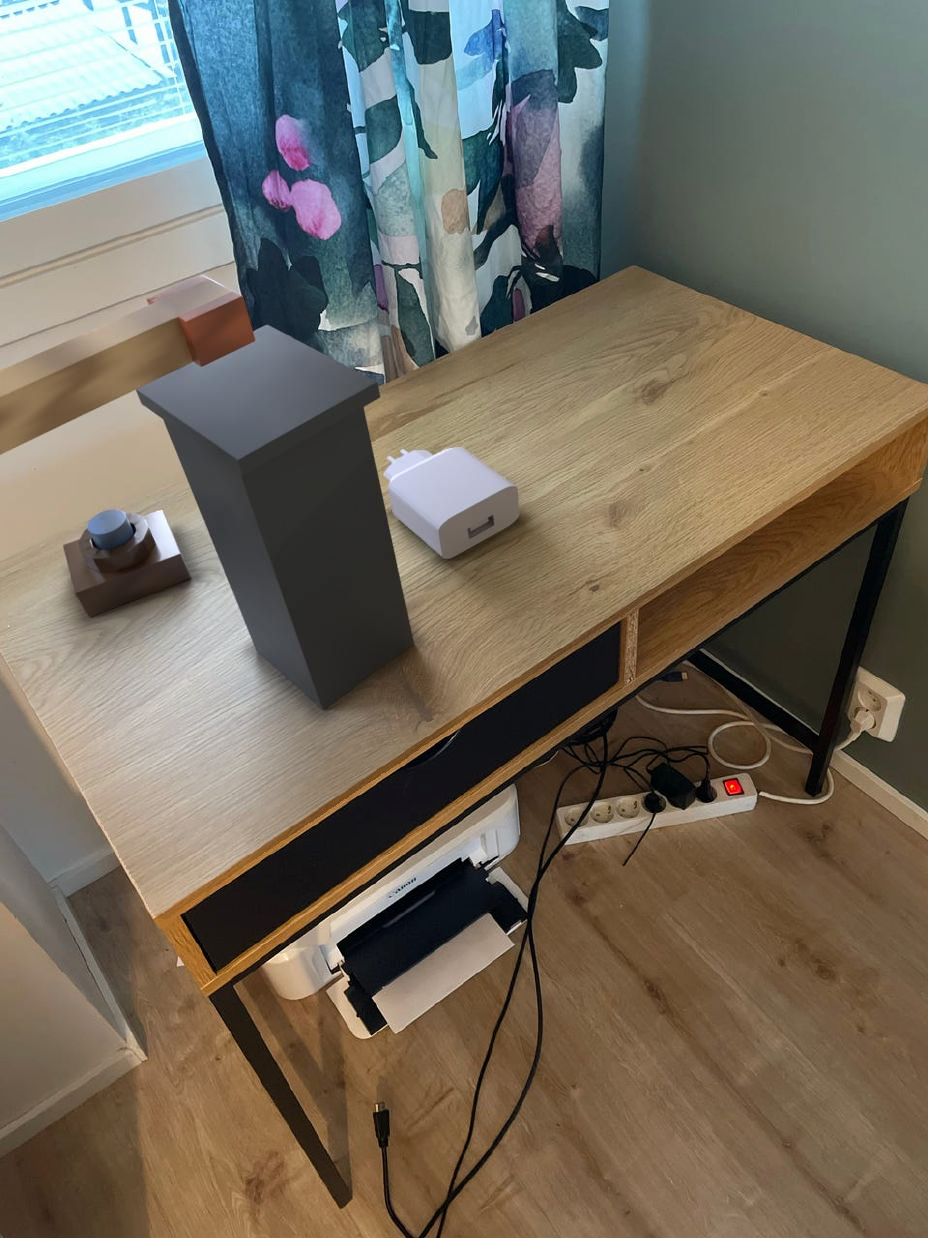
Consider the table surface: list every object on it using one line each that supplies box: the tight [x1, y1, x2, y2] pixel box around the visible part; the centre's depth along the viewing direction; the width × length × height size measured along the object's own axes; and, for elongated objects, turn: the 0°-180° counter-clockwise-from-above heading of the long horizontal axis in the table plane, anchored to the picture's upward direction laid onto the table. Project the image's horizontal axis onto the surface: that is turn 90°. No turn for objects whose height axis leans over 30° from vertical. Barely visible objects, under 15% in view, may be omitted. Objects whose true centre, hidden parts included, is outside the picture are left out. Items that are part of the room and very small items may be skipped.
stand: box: [135, 324, 415, 711], centre depth 69 cm, size 11×13×26 cm
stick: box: [0, 274, 256, 456], centre depth 52 cm, size 22×5×3 cm, turn 133°
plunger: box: [86, 508, 134, 550], centre depth 84 cm, size 4×4×2 cm
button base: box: [62, 509, 192, 618], centre depth 86 cm, size 10×8×5 cm
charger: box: [383, 446, 520, 560], centre depth 89 cm, size 5×9×15 cm
